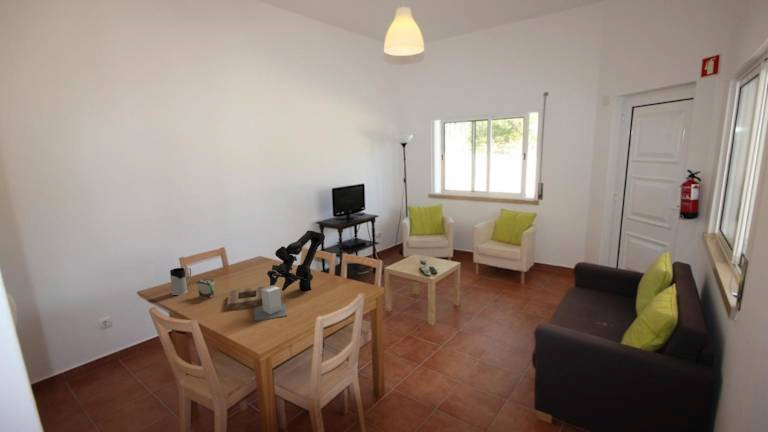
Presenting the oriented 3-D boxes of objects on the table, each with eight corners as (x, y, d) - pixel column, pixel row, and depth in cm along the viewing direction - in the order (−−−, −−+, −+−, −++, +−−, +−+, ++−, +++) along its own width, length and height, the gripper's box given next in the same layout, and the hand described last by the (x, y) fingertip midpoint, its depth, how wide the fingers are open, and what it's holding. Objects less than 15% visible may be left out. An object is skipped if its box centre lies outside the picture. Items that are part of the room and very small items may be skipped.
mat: (284, 304, 203) (284, 303, 203) (286, 316, 188) (286, 315, 188) (254, 308, 198) (254, 307, 197) (254, 321, 183) (254, 320, 183)
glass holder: (168, 295, 217) (165, 271, 214) (186, 286, 230) (184, 264, 227) (180, 296, 214) (177, 272, 211) (198, 287, 228) (195, 265, 225)
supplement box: (282, 309, 194) (280, 287, 192) (270, 314, 189) (268, 292, 186) (274, 306, 199) (273, 284, 196) (262, 310, 193) (260, 288, 191)
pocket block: (265, 291, 221) (264, 286, 220) (266, 304, 202) (265, 298, 202) (230, 296, 214) (229, 290, 214) (227, 310, 196) (227, 304, 195)
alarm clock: (220, 295, 215) (219, 279, 213) (212, 299, 210) (210, 283, 208) (206, 292, 220) (204, 276, 219) (197, 296, 215) (195, 280, 213)
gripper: (266, 257, 205) (254, 282, 198) (291, 259, 197) (279, 286, 189) (278, 265, 214) (267, 290, 206) (302, 268, 205) (292, 293, 198)
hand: (276, 289), depth 200 cm, fingers open, 9 cm apart
